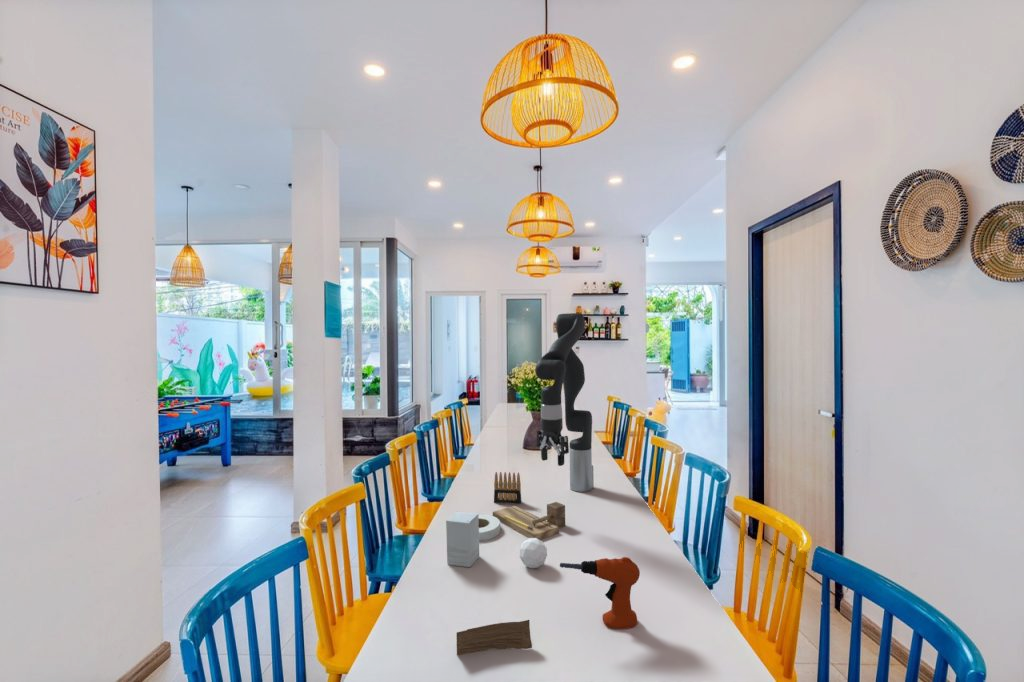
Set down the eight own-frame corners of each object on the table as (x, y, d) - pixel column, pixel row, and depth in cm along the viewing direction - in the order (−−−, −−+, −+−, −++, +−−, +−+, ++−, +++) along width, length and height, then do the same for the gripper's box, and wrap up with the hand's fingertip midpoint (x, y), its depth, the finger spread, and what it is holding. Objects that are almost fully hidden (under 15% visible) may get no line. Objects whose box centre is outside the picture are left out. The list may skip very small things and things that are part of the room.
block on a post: (556, 521, 158) (556, 501, 158) (565, 525, 154) (565, 505, 154) (529, 530, 151) (529, 509, 151) (537, 535, 147) (537, 513, 147)
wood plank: (457, 660, 90) (456, 635, 90) (456, 653, 92) (456, 629, 92) (531, 648, 93) (531, 624, 93) (529, 642, 95) (529, 618, 95)
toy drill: (552, 612, 103) (559, 546, 103) (632, 618, 104) (639, 553, 104) (555, 625, 98) (563, 557, 98) (639, 632, 99) (647, 564, 99)
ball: (540, 577, 126) (552, 561, 122) (514, 569, 125) (525, 553, 121) (540, 552, 133) (551, 536, 129) (515, 545, 132) (525, 528, 128)
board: (515, 511, 168) (514, 505, 168) (558, 532, 149) (558, 526, 149) (492, 517, 162) (492, 511, 162) (534, 541, 143) (534, 534, 143)
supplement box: (480, 556, 133) (479, 513, 133) (469, 568, 126) (469, 523, 126) (457, 552, 136) (456, 510, 136) (446, 564, 129) (445, 520, 129)
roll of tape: (445, 536, 148) (444, 527, 148) (470, 519, 162) (470, 511, 162) (485, 545, 141) (485, 536, 141) (508, 527, 155) (508, 518, 155)
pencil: (505, 517, 157) (505, 515, 157) (532, 529, 147) (532, 527, 147) (503, 518, 156) (503, 515, 156) (530, 530, 146) (530, 527, 146)
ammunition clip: (521, 502, 177) (521, 471, 177) (520, 503, 175) (520, 472, 175) (494, 501, 179) (494, 470, 179) (493, 502, 177) (493, 472, 177)
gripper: (573, 418, 155) (574, 465, 155) (546, 412, 166) (547, 456, 166) (557, 421, 150) (558, 469, 151) (530, 415, 162) (531, 460, 162)
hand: (552, 462), depth 158 cm, fingers open, 8 cm apart
